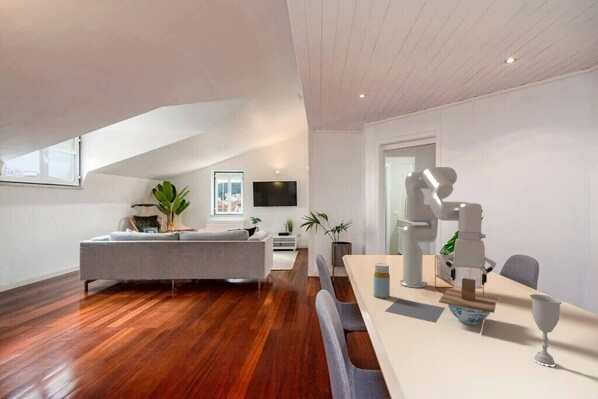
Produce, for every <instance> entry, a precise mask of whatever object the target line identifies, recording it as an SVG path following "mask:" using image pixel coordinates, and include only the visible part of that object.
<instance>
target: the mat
mask: <svg viewBox="0 0 598 399" xmlns="http://www.w3.org/2000/svg"><path fill="white" fill-rule="evenodd" d="M445 309H446V307H443V306H438V305H433V304H427V303H423V302H418V301H413V300H408V299H404V298H403V299H402V298H398V299H397V300H396V301H395V302H393V303H392V304H391V305H390V306H389V307H388V308H386V309H385V310H384V312H385V313H386V312H387V313H390V314H395V315H399V316H404V317H408V318H413V319H418V320H422V321H426V322H431V323H437V321H438V319H439V318H440V317H441V315H442V313H443V311H444V310H445Z"/></svg>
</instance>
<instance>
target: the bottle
mask: <svg viewBox="0 0 598 399" xmlns="http://www.w3.org/2000/svg"><path fill="white" fill-rule="evenodd" d="M390 276H391V275H390V265H389V264H387V263H382V262H381V263H379V262H378V263H376V262H375V263H374V273H373V296H374V297H375V298H377V299H383V300H387V299H389V298H390V296H391V295H390V292H391V291H390V286H391V284H390V280H391V277H390ZM374 297H373V298H374Z"/></svg>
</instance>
